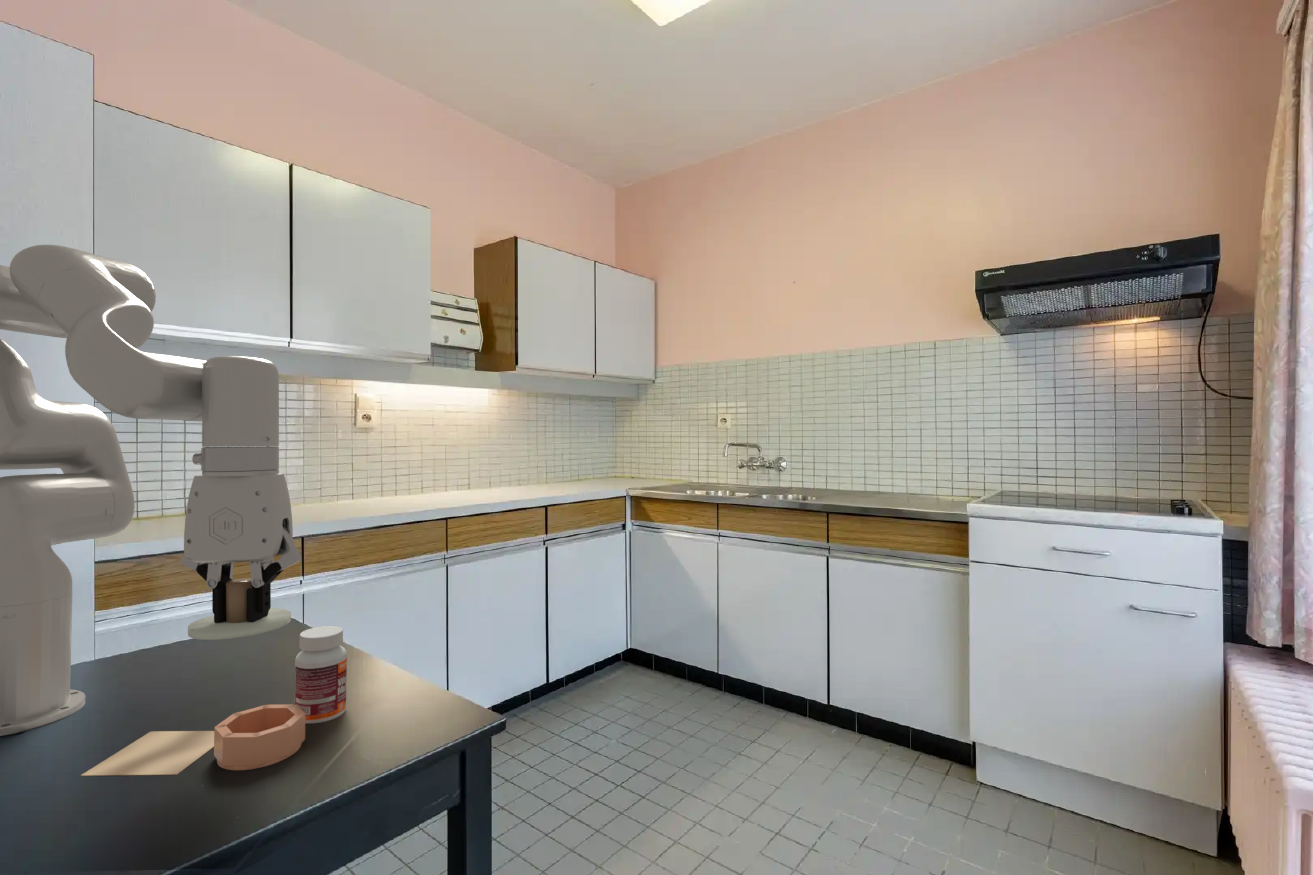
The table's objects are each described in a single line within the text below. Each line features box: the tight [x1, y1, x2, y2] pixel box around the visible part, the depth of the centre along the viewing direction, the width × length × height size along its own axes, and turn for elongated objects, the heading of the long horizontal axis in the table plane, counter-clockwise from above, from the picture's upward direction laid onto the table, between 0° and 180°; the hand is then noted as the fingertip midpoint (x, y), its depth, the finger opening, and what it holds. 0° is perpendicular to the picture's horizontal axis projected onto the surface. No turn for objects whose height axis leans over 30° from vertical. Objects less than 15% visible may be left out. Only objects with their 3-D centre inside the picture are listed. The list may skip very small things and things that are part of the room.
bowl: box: [213, 703, 306, 771], centre depth 73 cm, size 8×8×4 cm
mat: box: [80, 730, 214, 777], centre depth 72 cm, size 10×10×1 cm
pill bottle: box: [293, 625, 348, 724], centre depth 83 cm, size 6×6×11 cm
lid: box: [187, 577, 292, 641], centre depth 72 cm, size 10×10×5 cm
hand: (241, 617), depth 72 cm, fingers closed on lid, 3 cm apart
